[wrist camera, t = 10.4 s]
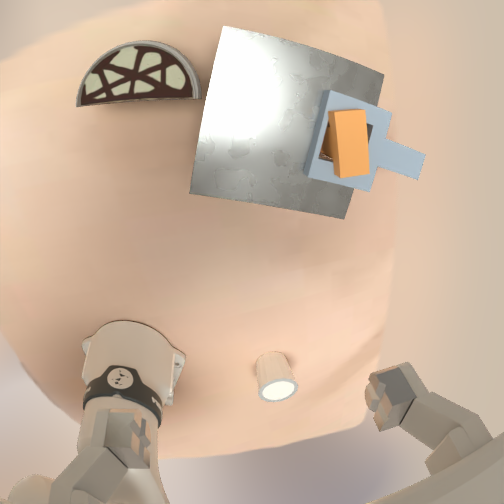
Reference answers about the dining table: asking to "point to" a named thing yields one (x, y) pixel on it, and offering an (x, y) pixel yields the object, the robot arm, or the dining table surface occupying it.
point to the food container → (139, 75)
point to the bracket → (379, 148)
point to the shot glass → (275, 377)
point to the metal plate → (272, 121)
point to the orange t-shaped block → (347, 142)
